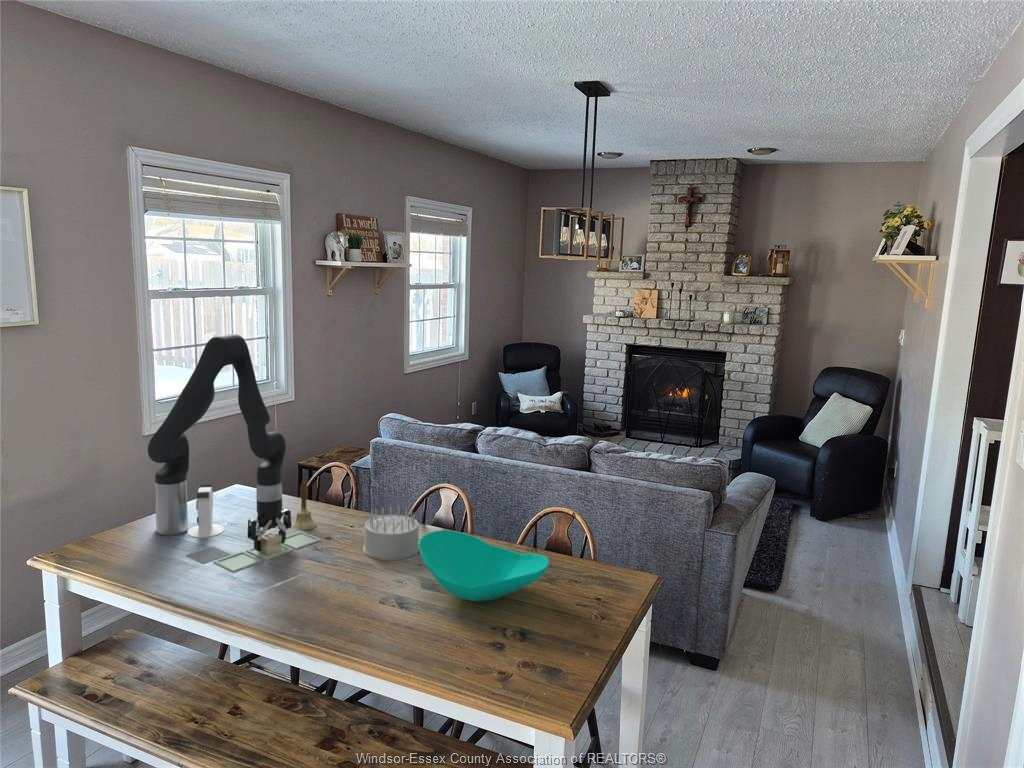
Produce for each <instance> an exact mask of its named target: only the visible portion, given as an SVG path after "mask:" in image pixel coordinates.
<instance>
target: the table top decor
mask: <svg viewBox="0 0 1024 768" xmlns="http://www.w3.org/2000/svg"><path fill="white" fill-rule="evenodd" d="M418 544H419V545H418V546H419V549H420V550H419V552H420V555H421V558H422V561H423V563H424V565H425V566H426V568H427V570H428V571H429V573H430V574H431V575H432V576H433V577H434V578H435V579H436V581H437V582H438V583H439V584H440V585H441V587H442V588H443V589H444V590H445V591H446V592H448V593H450V594H451V595H454V596H455V597H457V598H460V599H463V600H466V601H473V602H485V601H486V602H487V601H492V600H496V599H498V598H501V597H504V596H506V595H509V594H512V593H514V592H517V591H519V590H520V589H523V588H525V587H527V586H528V585H531V584H532V583H534V582H536V581H538V580H539V579H541V577H543V576H544V575H545V573H546V572H547V570H548V568H549V566H550V560H549V558H548V557H547V556H545V555H543V554H537V553H520V552H517V551H513V550H511V549H508V548H503V547H499V546H496V545H495V546H494V545H491V543H488V542H486V541H483V540H482V539H480V538H478V537H475V536H473V535H470V534H468V533H464V532H460V531H454V530H447V529H443V530H435V531H432V532H428V533H426V534H425V535H423V536H422V537H421V538H419V541H418Z"/></svg>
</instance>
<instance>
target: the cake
mask: <svg viewBox="0 0 1024 768" xmlns="http://www.w3.org/2000/svg"><path fill="white" fill-rule="evenodd" d="M400 508H401V507H400V506H398V508H397V514H392V506H390V507H389V514H386V515H385V514H384V507H382V508H381V515H379V516H377V513H378V510H377V509H375V510H374V511H375V512H374V513H375V515H374V517H373V508H371V510H370V511H371V512H370V514H369V519H368V520H366V522H365V524H364V544H363V546H362V552H363V554H364V555H365V556H366V557H369V558H370V559H375V560H378V561H387V562H388V561H390V562H392V561H401V560H406V559H409V558H412V557H414V556H415V555H417V554H418V553H419V552H420V549H419V546H418V545H419V541H420V538H419V532H420V523H419V521H418V520H417V519H415V513H413V511H412V509H411V510H410V516H407V514H408V513H407V512H408V508H405V509H404V511H405V514H404V515H403V514H402V515H401V514H400Z"/></svg>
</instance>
